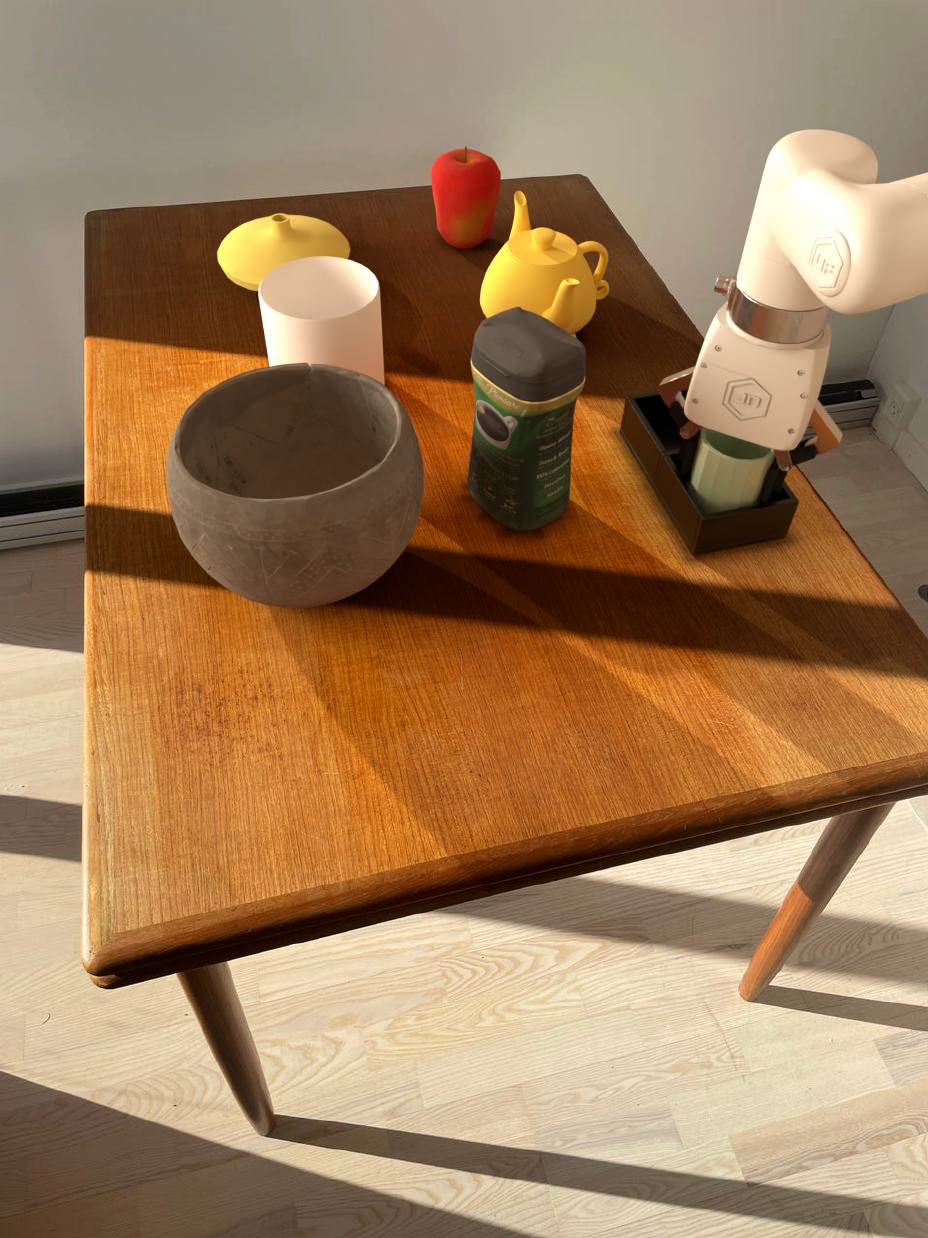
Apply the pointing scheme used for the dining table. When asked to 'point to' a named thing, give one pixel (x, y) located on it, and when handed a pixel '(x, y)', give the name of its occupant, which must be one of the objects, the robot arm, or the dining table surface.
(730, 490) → the sage cup
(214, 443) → the bowl
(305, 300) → the cup
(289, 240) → the vase
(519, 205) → the teapot
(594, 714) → the dining table surface
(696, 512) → the black divided tray
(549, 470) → the coffee jar
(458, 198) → the apple
